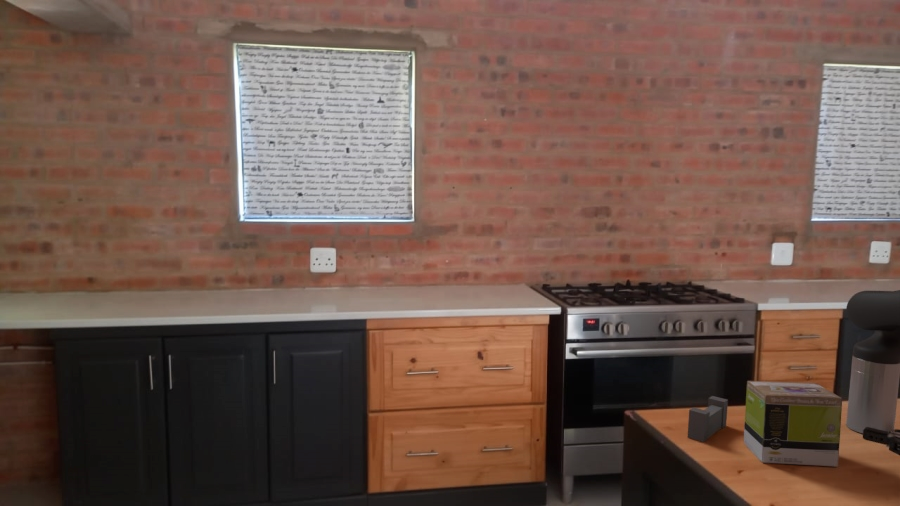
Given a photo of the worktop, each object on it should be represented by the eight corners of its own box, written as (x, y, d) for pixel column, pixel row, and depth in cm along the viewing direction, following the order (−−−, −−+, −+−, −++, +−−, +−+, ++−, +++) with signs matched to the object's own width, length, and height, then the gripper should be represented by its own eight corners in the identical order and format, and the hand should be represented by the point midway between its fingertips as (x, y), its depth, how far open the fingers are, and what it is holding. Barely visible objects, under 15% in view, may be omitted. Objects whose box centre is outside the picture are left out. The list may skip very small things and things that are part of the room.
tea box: (813, 447, 129) (819, 382, 127) (838, 468, 119) (845, 398, 117) (741, 443, 130) (746, 378, 129) (760, 464, 120) (766, 393, 119)
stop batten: (710, 421, 142) (712, 395, 142) (726, 425, 140) (727, 399, 139) (687, 437, 133) (689, 409, 132) (703, 442, 130) (705, 414, 130)
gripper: (987, 430, 107) (871, 406, 119) (983, 451, 98) (858, 422, 110) (983, 470, 108) (868, 441, 120) (978, 495, 98) (854, 461, 110)
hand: (863, 432), depth 115 cm, fingers closed
